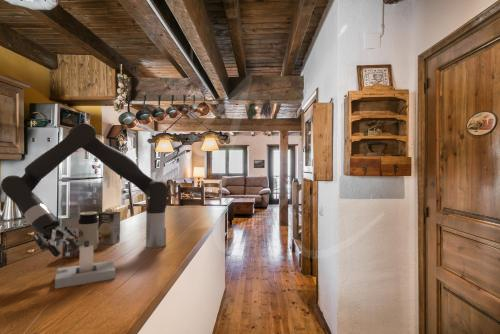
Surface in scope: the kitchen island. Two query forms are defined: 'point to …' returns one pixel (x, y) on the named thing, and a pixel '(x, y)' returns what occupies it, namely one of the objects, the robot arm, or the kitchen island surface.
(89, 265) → the plug
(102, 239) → the coffee box
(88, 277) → the socket
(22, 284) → the kitchen island surface
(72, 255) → the supplement bottle
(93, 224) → the travel mug
